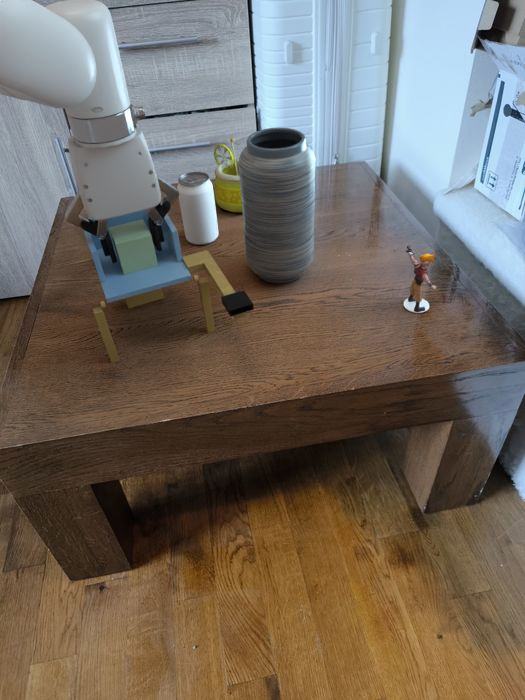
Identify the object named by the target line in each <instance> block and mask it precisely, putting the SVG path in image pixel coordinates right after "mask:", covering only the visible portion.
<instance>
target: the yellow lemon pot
mask: <svg viewBox="0 0 525 700" xmlns="http://www.w3.org/2000/svg"><path fill="white" fill-rule="evenodd" d="M229 141H230V144H231V148H232V151H231V150H230V148H229V147H228V146H226V145H225V144H223V143H222V144H221V143H220V144H218V145H216V146H215V148H214V149H213V157H214V160H215V163H216V164H217V165H218V166H217V167H216V168H215V170H214V176H215V181H214V199H215V203H216V204H217V205H218V206H219V207H220V209H222V210H224V211H227V212H231V213H243V210H242V199H241V187H240V176H239V164H238V162H239V158H236V153H235V152H236V151H235V147H234V146H235V145H234V141H235V139H234V137H232V136H231V137H230V139H229ZM221 147H222V148H223V149H224V150H222V149H221ZM217 150H218V152H219V154H218V153H217ZM227 152H228V154H229V156H226V154H227ZM218 158H221V161H219V159H218Z"/></svg>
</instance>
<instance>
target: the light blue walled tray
mask: <svg viewBox="0 0 525 700" xmlns="http://www.w3.org/2000/svg"><path fill="white" fill-rule="evenodd" d="M155 207H156V206H155ZM87 218H88V219H90V218H89V217H88V216H87ZM142 219H143V220H144V222H145V224H146V226H147V228H148V230H149V232H150V228H149V224H148V220H149V214H148V213H147V212H146V210H143V211H139V212H135V213H131V214H126V215H122V216H118V217H114V218H109V219H108V225H107V230H108V232H109V235H110V237H111V234H110V231H109V227H114V226H118V225H122V224H126V223H130V222H134V221H138V220H142ZM90 220H92V219H90ZM92 221H94V220H92ZM161 227H162V231H163V236H164V242H161V246H162V251H157V250H156V248H155V246H154V249H155V254H156V258H157V263H158V266H155V267H151V268H147V269H143V270H140V271H136V272H132V273H129V274H125V275H124V273H123V271H122V268H121V266H120V263H119V261H118V258H117V262H116V263H113V262H112V260H111V257H110V256H106V257H105V255H104V252H103V248H102V245H101V242H100V239H98V238H97V236H95V235H93V234H91V233H89V232H87V231H85V230H83V229H82V231H83V234H84V236H85V239H86V242H87V246H88V249H89V252H90V255H91V258H92V261H93V264H94V267H95V270H96V273H97V276H98V279H99V282H100V285H101V288H102V291H103V295H104V297H105V300H106V303H107V304H110V303H113V302H118V301H121V300H125V298H128V297H131V296H135V295H139V294H142V293H146V292H149V291H153V290H156V289H160V288H162V289H163V288H166V287H167V288H168V287H169V286H174V285H178V284H181V283H185V282H188V281H192V280H193V277H192V274H194V273H198V272H201V271H205V273H206V274H207V276H208V278H209V280H211V282H212V284H213V286H214V287H215V289H216V291H217V292H218V293H219V295H220V299H221V304H222V305H223V307H224V309H225V310H226V312H227V314H228V315H229V317H233V318H234V319H235V320H238V319H242V318H244V317H245V318H246V317H247V316H248V314H247V312H250V311H253V310H254V309H255V307H254V303H253V301H252V299H251V298H250V296H249V295H248V293H247V292H246V290H245V289H243V290H238V291H235V289H234V288H233V286H232V284H230V281H228V279H227V277H226V276H225V274H224V273H223V271H222V270H221V268H220V266H219V265H218V264H217V262H216V261H215V259H214V258H213V256H212V255H211V253H210V252H209V250H208V249H206V250H202V251H198V252H196V253H192V254H188V255H184V256H183V253H182V249H181V242H180V239H179V232H178V229H177V228H176V226H175V224H174V222H173V221H172V220H171V218H170V216H169V213H167V214H166V216H165V217H164V219H163V223H162V225H161ZM150 234H151V233H150ZM111 240H112V238H111ZM112 244H113V241H112ZM153 245H154V244H153ZM113 247H114V245H113ZM114 251H115V248H114ZM115 254H116V252H115ZM116 257H117V255H116Z"/></svg>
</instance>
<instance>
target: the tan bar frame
mask: <svg viewBox="0 0 525 700" xmlns="http://www.w3.org/2000/svg"><path fill="white" fill-rule="evenodd" d="M192 280H193V282H194V283H197V286H198V290H199V297H200V303H201V310H202V314H203V319H204V320H203V321H204V327H205V330H206V332H207V334H210V333H214V332H216V326H215V320H214V312H213V306H212V299H211V293H210V288H209V287H210V286H209V281H208V279H207V278H206V277H205V276H204V277H201V278H199V275H198V274H194V275H192ZM164 299H165V297H164V293H163V288H160V289H156V290H153V291H149V292H146V293H142V294H139V295H135V296H131V297H128V298H124V300H125V302H126V305H127V308H128V309H131V308H132V309H133V308H135V307H136V308H137V307H139V306H142V305H146V304H149V303H153V302H156V301H160V300H164ZM99 304H100V306H98V307H95V308H94V307H93V308H92V312H93V315H94V318H95V321H96V324H97V326H98V330H99V332H100V336H101V338H102V341H103V345H104V347H105V349H106V351H107V355H108V358H109V360H110V363H111V364H113V363H117V362H119V361H120V357H119V355H118V354H119V353H118V352H117V348H116V345H115V343H114V340H113V337H112V333H111V331H110V327H109V324H108V322H107V319H106V316H105V313H104V309H106V308H107V305H106V302H105V300H101V301H99Z"/></svg>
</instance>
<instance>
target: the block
mask: <svg viewBox="0 0 525 700" xmlns="http://www.w3.org/2000/svg"><path fill="white" fill-rule="evenodd" d="M109 231H110V234H111V238H112V241H113V245H114V248H115V252H116V255H117V258H118V261H119V263H120V266H121V268H122V271H123V273H124V275H125V274H129V273H132V272H136V271H140V270H143V269H147V268H151V267H155V266H158V263H157V258H156V254H155V249H154V245H153V241H152V236H151V234H150V232H149V230H148V228H147V226H146V224H145V222H144V220H143V219H142V220H138V221H134V222H130V223H126V224H122V225H118V226H114V227H109Z"/></svg>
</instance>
